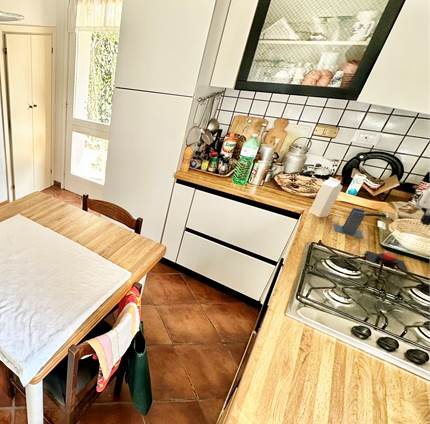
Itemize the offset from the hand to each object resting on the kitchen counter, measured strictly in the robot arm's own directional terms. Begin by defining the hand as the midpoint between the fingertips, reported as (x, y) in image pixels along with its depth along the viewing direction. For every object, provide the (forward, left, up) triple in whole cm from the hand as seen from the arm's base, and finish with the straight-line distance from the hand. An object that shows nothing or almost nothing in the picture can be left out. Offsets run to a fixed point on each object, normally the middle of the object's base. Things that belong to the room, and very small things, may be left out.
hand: (424, 223), depth 123 cm
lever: (+11, -18, -9) cm, 23 cm away
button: (+5, +6, -16) cm, 18 cm away
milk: (+28, -31, -20) cm, 47 cm away
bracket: (+16, -18, -20) cm, 31 cm away
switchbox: (+5, +6, -20) cm, 21 cm away
